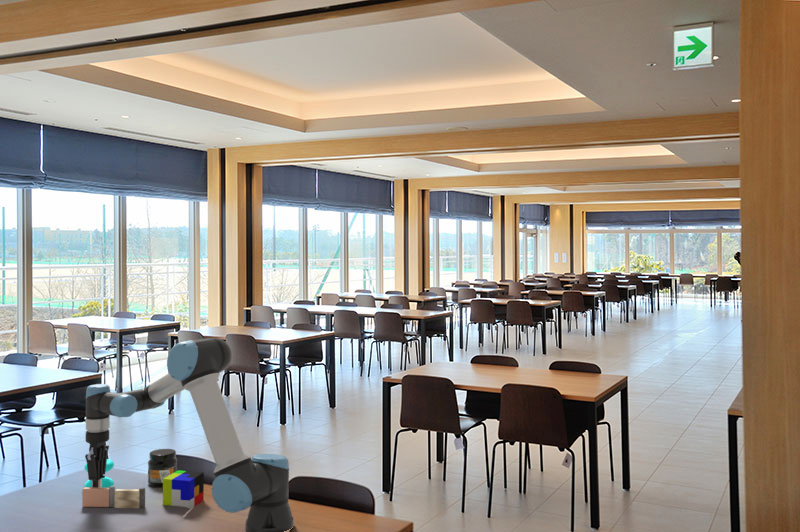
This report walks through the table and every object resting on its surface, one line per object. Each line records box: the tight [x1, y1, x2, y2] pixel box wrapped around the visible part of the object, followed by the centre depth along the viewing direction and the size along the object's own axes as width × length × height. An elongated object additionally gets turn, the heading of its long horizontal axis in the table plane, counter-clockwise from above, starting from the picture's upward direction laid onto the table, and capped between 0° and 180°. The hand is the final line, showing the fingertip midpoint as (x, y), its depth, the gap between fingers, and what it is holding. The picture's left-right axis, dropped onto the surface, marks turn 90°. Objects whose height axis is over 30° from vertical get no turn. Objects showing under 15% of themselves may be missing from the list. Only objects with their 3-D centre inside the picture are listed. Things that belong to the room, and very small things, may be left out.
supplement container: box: [147, 448, 178, 488], centre depth 262 cm, size 10×10×12 cm
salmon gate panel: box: [81, 485, 116, 508], centre depth 233 cm, size 11×2×7 cm, turn 89°
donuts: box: [83, 458, 115, 488], centre depth 255 cm, size 10×10×10 cm
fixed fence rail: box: [114, 487, 146, 509], centre depth 233 cm, size 10×2×7 cm, turn 89°
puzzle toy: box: [162, 469, 205, 511], centre depth 240 cm, size 10×10×10 cm
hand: (96, 498), depth 237 cm, fingers closed
